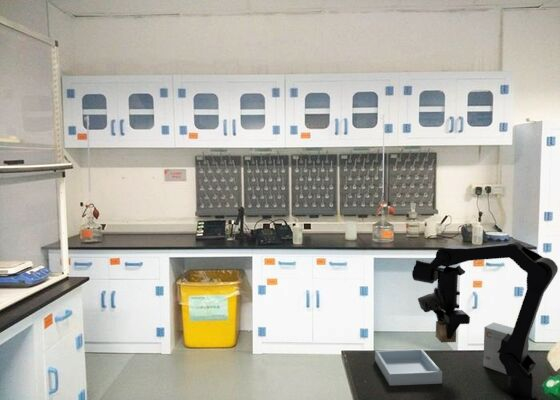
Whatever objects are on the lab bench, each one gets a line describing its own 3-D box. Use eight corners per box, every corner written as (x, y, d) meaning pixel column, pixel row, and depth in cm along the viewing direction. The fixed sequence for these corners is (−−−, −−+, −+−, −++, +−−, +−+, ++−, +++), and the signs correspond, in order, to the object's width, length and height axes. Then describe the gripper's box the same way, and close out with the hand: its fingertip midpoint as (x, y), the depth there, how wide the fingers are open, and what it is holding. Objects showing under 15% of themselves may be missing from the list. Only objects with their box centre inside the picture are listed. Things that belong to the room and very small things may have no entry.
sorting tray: (441, 383, 130) (442, 372, 129) (389, 385, 129) (389, 374, 129) (421, 359, 145) (422, 348, 145) (375, 360, 144) (375, 350, 144)
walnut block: (455, 342, 135) (456, 326, 134) (441, 342, 135) (441, 326, 134) (449, 336, 139) (450, 320, 139) (435, 336, 139) (436, 321, 139)
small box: (517, 369, 138) (519, 329, 136) (508, 375, 134) (510, 334, 132) (491, 360, 144) (493, 321, 143) (482, 366, 140) (483, 326, 139)
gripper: (411, 278, 144) (409, 324, 146) (433, 296, 126) (431, 349, 127) (444, 277, 145) (442, 323, 146) (471, 296, 126) (469, 348, 128)
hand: (445, 335), depth 137 cm, fingers closed on walnut block, 4 cm apart
